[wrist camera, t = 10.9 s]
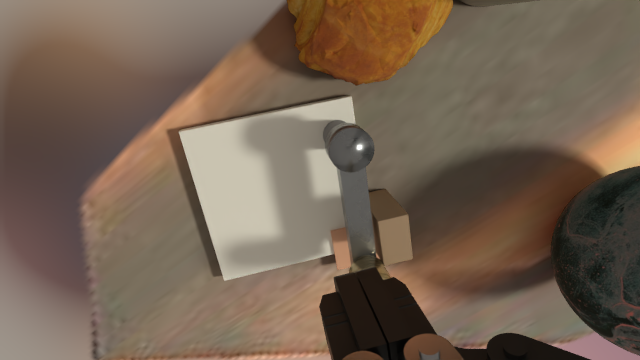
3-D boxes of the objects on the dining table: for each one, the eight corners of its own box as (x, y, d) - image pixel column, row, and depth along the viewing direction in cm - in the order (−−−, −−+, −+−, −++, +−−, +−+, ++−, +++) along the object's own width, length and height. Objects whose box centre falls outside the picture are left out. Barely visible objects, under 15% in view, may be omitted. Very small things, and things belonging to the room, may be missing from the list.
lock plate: (372, 90, 41) (396, 100, 35) (392, 250, 48) (415, 283, 42) (180, 129, 40) (167, 148, 33) (229, 290, 46) (226, 332, 40)
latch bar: (321, 127, 37) (336, 145, 31) (364, 118, 37) (387, 135, 31) (345, 281, 43) (362, 322, 37) (382, 273, 43) (404, 312, 37)
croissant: (314, -110, 37) (319, -158, 29) (463, -31, 39) (503, -56, 31) (255, 44, 40) (244, 37, 32) (396, 108, 42) (417, 117, 35)
